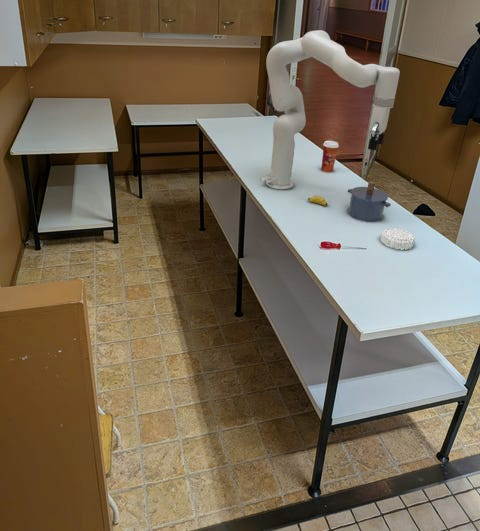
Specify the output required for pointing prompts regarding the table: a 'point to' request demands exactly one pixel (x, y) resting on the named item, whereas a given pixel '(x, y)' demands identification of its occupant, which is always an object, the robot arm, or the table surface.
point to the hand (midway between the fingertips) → (375, 146)
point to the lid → (369, 193)
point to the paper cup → (329, 155)
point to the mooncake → (397, 238)
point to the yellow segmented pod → (318, 200)
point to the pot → (366, 209)
